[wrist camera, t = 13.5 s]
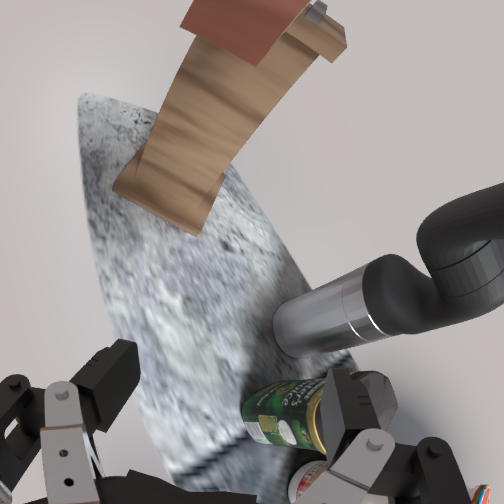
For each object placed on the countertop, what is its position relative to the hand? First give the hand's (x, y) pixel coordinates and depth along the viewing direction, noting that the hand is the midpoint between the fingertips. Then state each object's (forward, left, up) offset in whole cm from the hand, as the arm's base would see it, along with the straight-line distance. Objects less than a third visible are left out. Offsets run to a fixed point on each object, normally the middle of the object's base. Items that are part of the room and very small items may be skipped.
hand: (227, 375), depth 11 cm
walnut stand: (-8, -27, -25) cm, 38 cm away
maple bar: (-2, -17, +7) cm, 18 cm away
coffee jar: (-17, +8, -25) cm, 32 cm away
